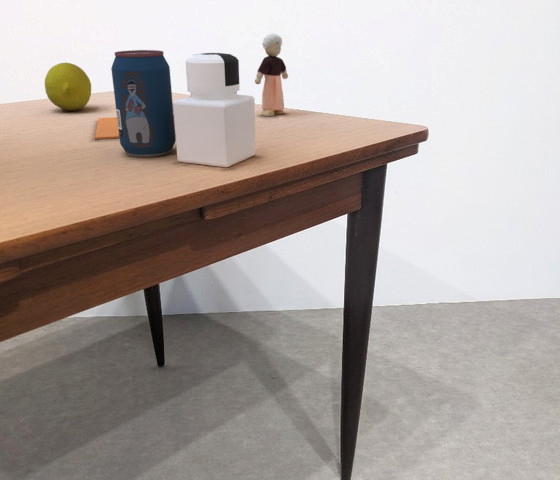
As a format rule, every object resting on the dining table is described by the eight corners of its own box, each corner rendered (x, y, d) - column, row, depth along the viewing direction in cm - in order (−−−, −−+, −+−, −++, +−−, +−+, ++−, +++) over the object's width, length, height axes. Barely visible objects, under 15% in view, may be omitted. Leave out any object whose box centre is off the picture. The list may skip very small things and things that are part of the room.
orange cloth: (95, 139, 85) (94, 137, 85) (98, 119, 99) (98, 118, 99) (249, 131, 89) (249, 129, 89) (231, 113, 103) (231, 111, 103)
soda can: (167, 144, 81) (159, 48, 76) (183, 154, 76) (175, 52, 71) (116, 149, 79) (104, 50, 74) (128, 160, 73) (115, 54, 68)
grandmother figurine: (272, 117, 99) (271, 34, 94) (252, 116, 101) (250, 34, 95) (294, 111, 105) (294, 32, 100) (275, 109, 107) (274, 32, 101)
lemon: (92, 113, 104) (85, 64, 101) (44, 115, 103) (36, 66, 99) (96, 104, 114) (90, 59, 110) (53, 106, 112) (46, 60, 109)
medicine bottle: (208, 150, 78) (202, 50, 73) (256, 155, 75) (254, 52, 70) (176, 162, 72) (167, 55, 67) (227, 168, 69) (222, 57, 64)
